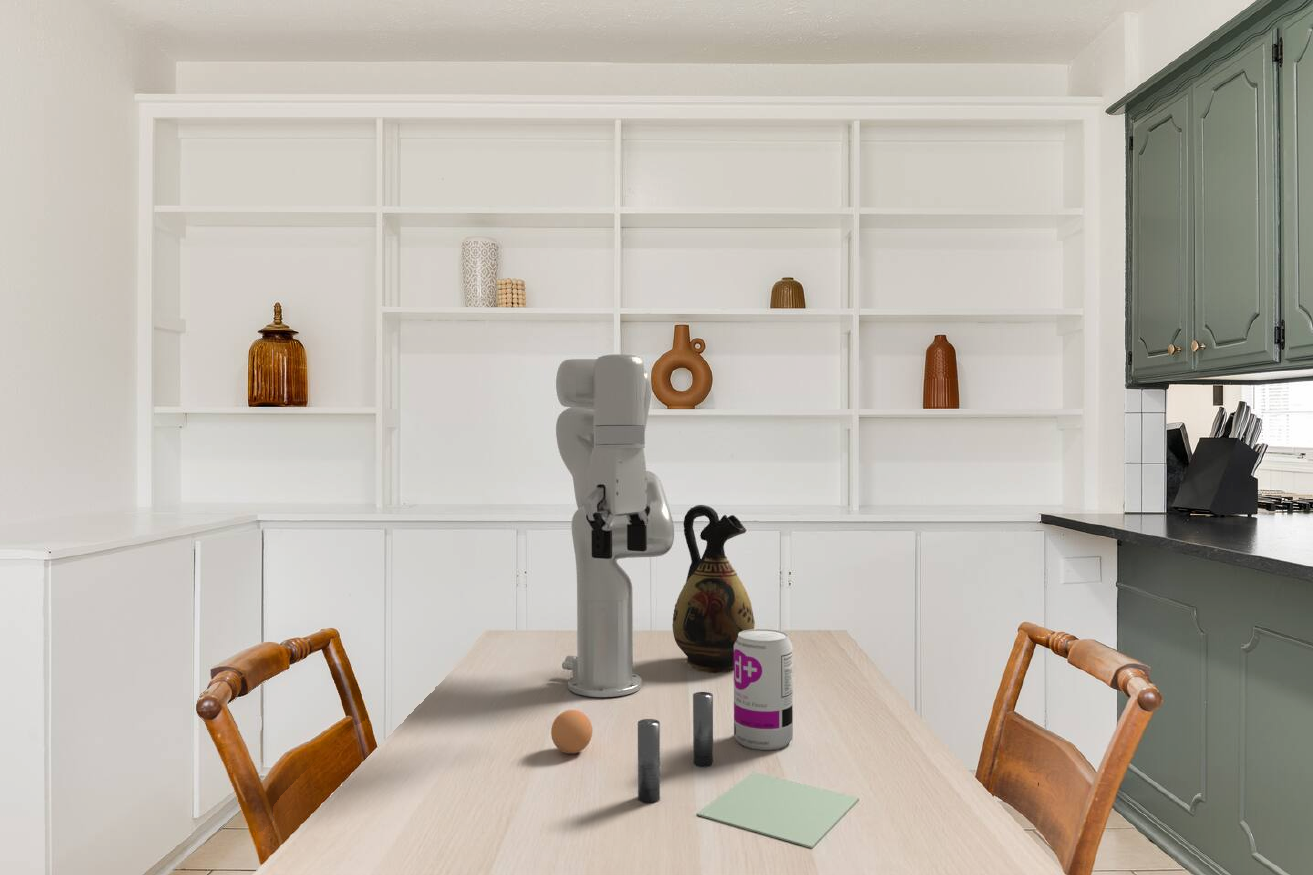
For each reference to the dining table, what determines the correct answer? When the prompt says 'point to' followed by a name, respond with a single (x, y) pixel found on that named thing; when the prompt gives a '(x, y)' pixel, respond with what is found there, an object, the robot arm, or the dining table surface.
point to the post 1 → (648, 760)
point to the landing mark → (780, 808)
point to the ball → (571, 731)
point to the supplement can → (763, 689)
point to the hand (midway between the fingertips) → (620, 554)
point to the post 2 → (703, 729)
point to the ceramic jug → (711, 597)
